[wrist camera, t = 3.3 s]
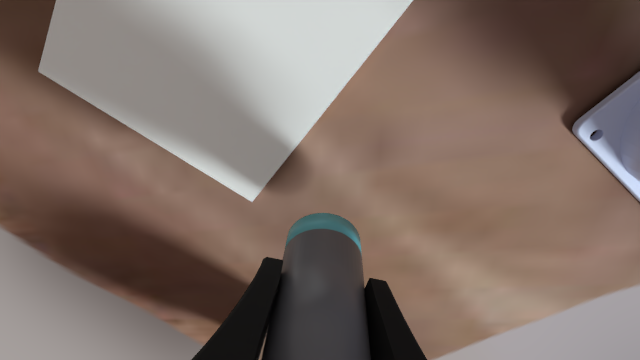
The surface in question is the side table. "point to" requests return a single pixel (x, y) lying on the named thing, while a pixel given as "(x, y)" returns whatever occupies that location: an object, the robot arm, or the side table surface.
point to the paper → (215, 72)
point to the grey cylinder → (320, 294)
